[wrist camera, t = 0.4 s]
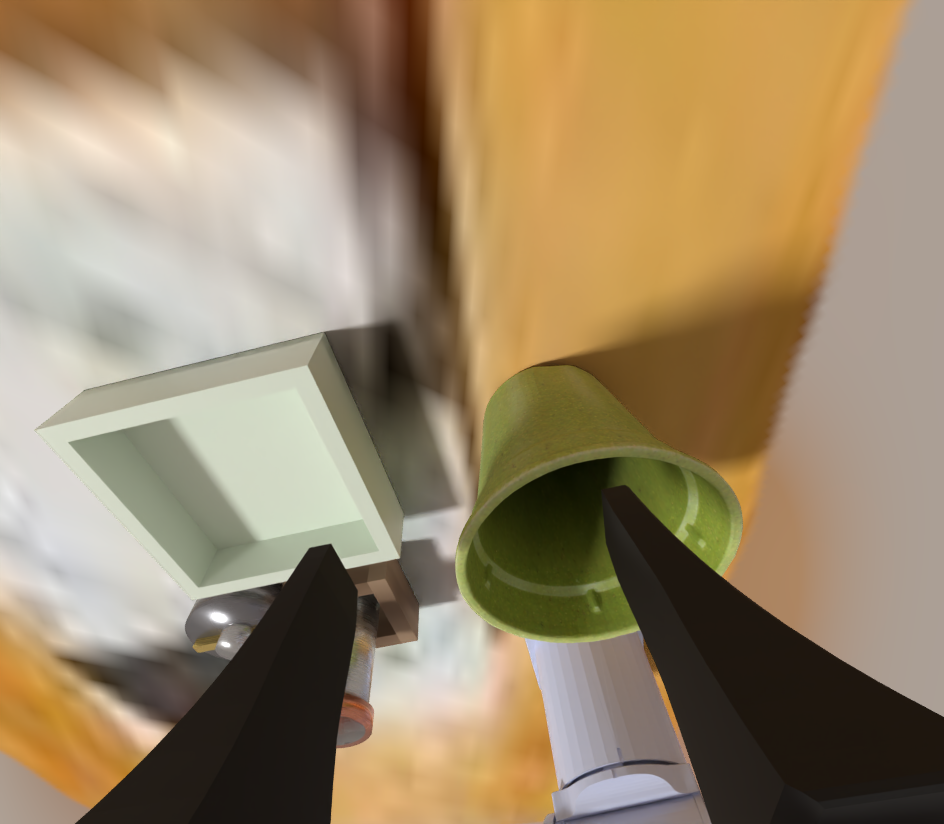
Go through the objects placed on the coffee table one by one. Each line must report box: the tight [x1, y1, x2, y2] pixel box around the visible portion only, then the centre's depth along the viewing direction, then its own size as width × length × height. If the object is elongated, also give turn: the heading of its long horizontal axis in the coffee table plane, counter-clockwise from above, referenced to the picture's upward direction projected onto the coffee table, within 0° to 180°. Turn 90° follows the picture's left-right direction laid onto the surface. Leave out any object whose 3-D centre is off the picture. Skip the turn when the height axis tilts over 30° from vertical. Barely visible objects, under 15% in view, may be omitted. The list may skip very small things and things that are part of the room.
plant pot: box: [455, 365, 743, 643], centre depth 19 cm, size 9×9×9 cm
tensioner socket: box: [282, 559, 419, 648], centre depth 28 cm, size 6×6×2 cm
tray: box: [34, 332, 404, 600], centre depth 22 cm, size 11×11×3 cm
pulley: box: [185, 583, 283, 660], centre depth 28 cm, size 6×6×3 cm
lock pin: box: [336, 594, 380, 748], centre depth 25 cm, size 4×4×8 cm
